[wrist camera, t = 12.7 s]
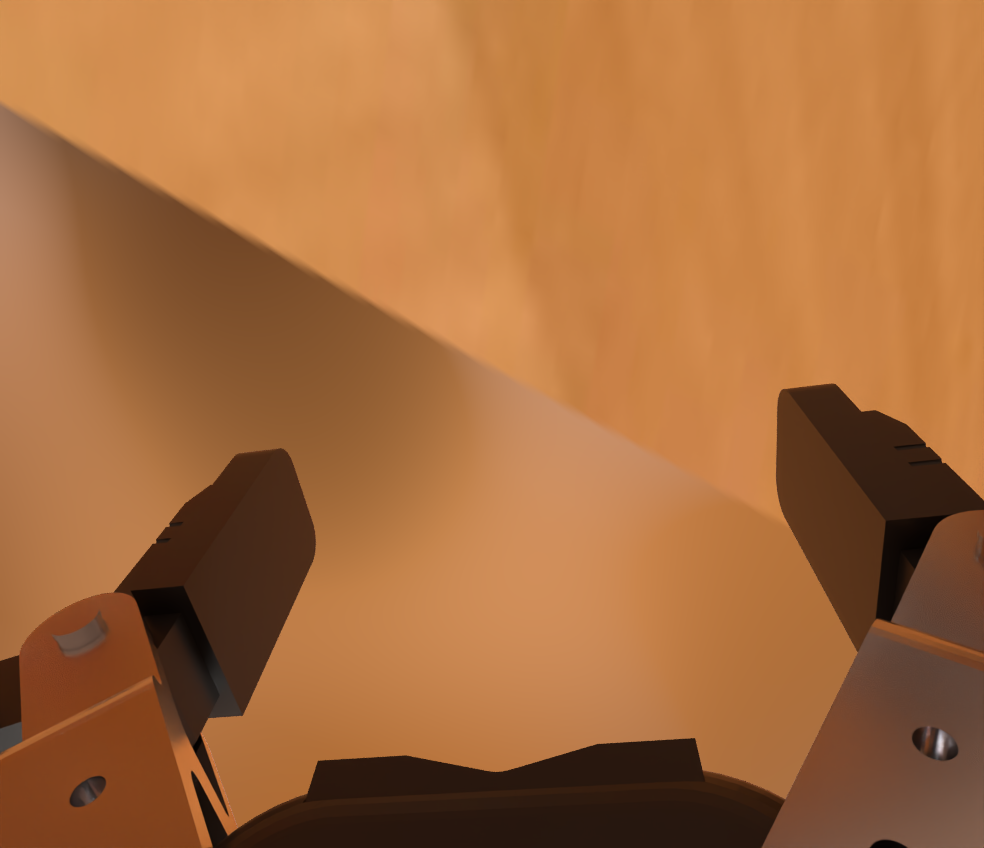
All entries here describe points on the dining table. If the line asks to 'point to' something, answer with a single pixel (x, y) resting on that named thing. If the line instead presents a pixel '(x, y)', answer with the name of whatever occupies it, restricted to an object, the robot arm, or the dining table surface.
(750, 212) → the dining table surface
